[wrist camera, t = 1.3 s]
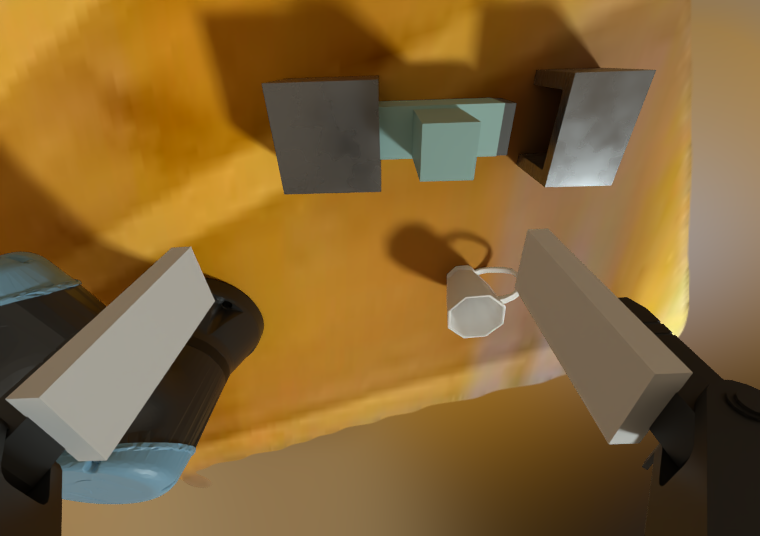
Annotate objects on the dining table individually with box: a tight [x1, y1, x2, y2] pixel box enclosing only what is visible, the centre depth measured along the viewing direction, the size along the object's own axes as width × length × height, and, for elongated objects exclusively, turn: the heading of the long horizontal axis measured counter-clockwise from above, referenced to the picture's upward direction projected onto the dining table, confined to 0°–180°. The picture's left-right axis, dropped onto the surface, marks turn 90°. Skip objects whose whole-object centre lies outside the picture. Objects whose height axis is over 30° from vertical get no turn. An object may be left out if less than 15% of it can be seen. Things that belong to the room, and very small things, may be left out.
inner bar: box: [379, 98, 516, 181], centre depth 28 cm, size 21×4×12 cm, turn 92°
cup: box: [447, 265, 519, 338], centre depth 40 cm, size 7×10×8 cm
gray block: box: [262, 75, 381, 194], centre depth 30 cm, size 9×9×7 cm
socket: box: [517, 68, 656, 187], centre depth 29 cm, size 6×9×7 cm
